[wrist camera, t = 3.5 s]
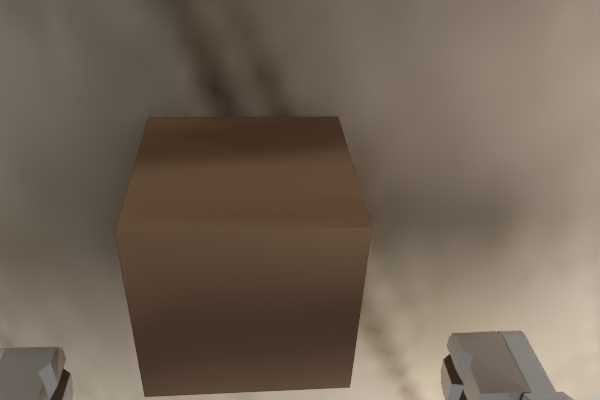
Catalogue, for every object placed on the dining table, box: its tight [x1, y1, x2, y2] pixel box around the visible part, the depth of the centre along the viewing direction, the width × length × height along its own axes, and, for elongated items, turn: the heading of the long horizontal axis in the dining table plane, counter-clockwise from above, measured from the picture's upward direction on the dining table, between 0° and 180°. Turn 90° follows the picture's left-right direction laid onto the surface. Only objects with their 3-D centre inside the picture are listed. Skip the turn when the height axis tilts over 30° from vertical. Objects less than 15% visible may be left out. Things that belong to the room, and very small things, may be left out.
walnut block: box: [115, 117, 372, 397], centre depth 15 cm, size 5×5×5 cm
